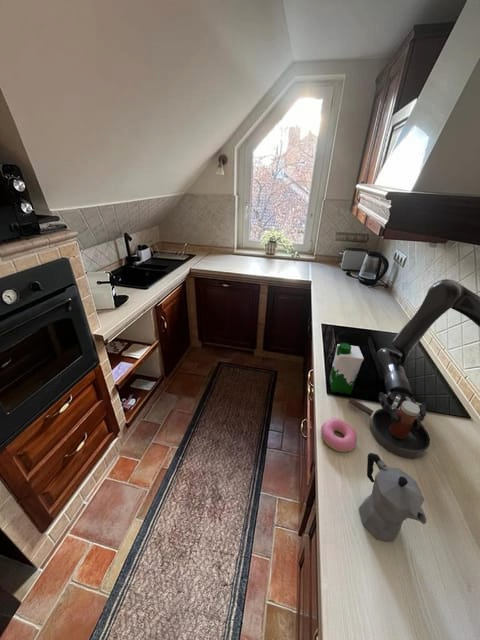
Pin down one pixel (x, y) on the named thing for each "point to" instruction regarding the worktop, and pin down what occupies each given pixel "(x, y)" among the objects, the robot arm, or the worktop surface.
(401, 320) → the worktop surface
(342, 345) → the milk carton
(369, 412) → the pan handle
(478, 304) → the robot arm
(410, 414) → the shaker
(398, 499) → the coffeepot
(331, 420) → the doughnut
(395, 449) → the pan
